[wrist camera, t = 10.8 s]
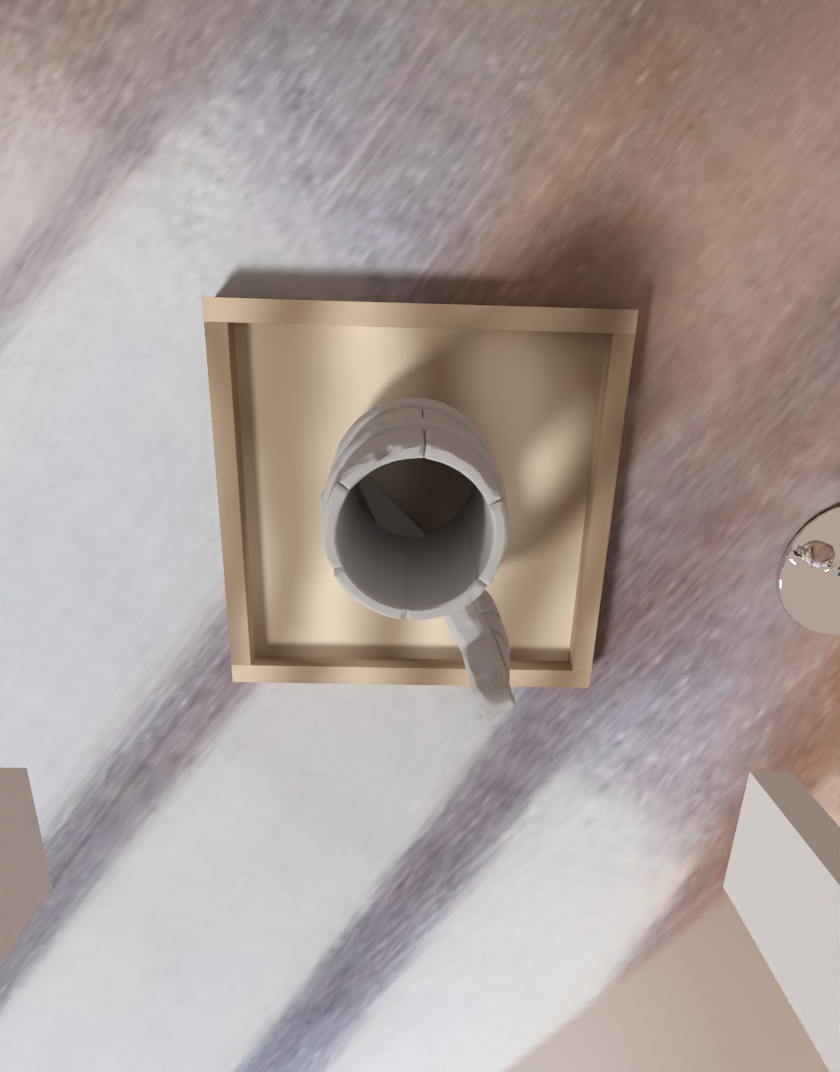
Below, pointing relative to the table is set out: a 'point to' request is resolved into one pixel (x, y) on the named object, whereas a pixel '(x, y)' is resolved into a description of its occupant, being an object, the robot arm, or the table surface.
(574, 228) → the table surface
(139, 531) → the table surface
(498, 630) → the mug
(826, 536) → the wineglass
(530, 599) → the square serving tray
